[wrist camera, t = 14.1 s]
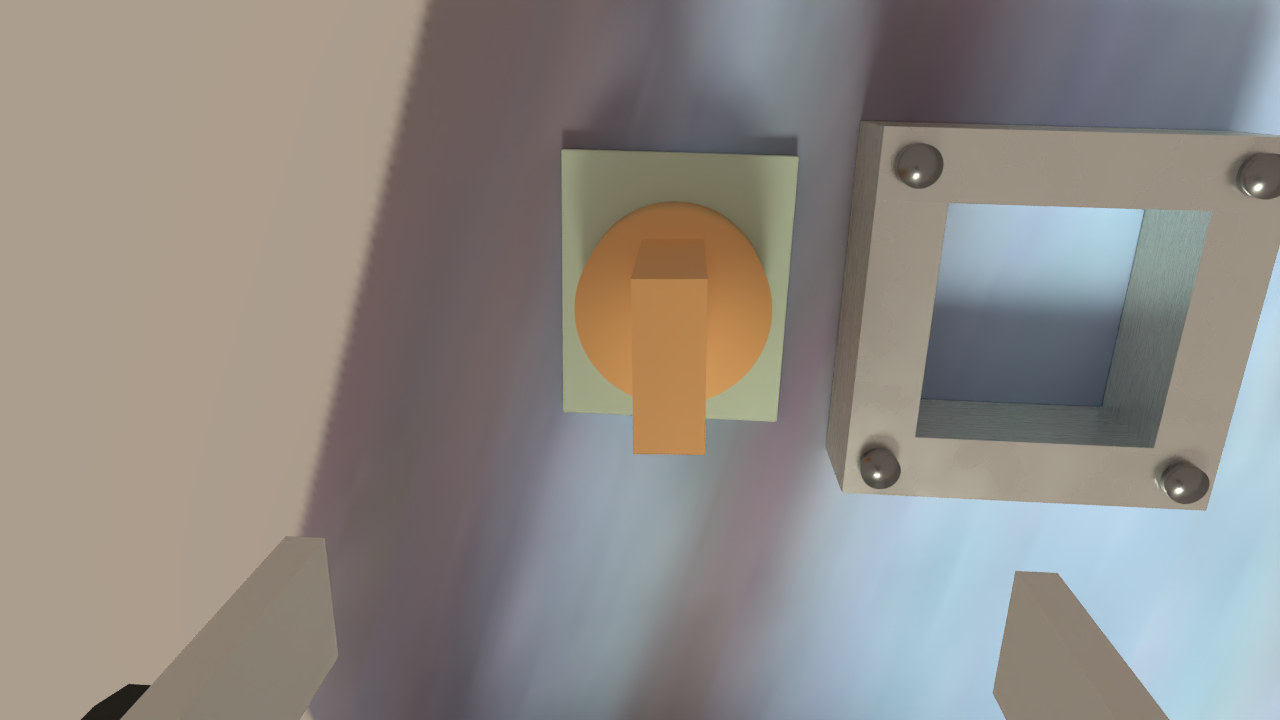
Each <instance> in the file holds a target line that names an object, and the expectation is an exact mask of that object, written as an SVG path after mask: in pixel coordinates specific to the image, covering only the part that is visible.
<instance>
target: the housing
mask: <svg viewBox="0 0 1280 720" xmlns="http://www.w3.org/2000/svg"><path fill="white" fill-rule="evenodd" d="M948 203H969V204H1000V205H1031V206H1062V207H1094V208H1125V209H1145V213H1144V218H1143V222H1142V227H1141V231H1140V236H1139V240H1138V245H1137V250H1136V254H1135V259H1134V263H1133V268H1132V272H1131V277H1130V281H1129V286H1128V290H1127V295H1126V299H1125V304H1124V309H1123V313H1122V318H1121V322H1120V327H1119V331H1118V336H1117V340H1116V345H1115V349H1114V354H1113V358H1112V363H1111V367H1110V372H1109V377H1108V381H1107V386H1106V390H1105V395H1104V399H1103V404H1102V407H1090V406H1067V405H1044V404H1021V403H998V402H975V401H952V400H929V399H920V398H921V391H922V384H923V377H924V370H925V363H926V356H927V350H928V343H929V336H930V329H931V322H932V315H933V308H934V301H935V294H936V287H937V280H938V273H939V266H940V259H941V252H942V245H943V238H944V231H945V224H946V217H947V210H948ZM1279 245H1280V135H1271V134H1260V133H1249V132H1237V131H1215V130H1179V129H1142V128H1106V127H1069V126H1033V125H997V124H960V123H924V122H887V121H860V129H859V139H858V148H857V158H856V167H855V176H854V186H853V195H852V205H851V214H850V224H849V233H848V242H847V252H846V261H845V271H844V280H843V290H842V299H841V309H840V318H839V327H838V337H837V346H836V356H835V365H834V375H833V384H832V393H831V403H830V412H829V422H828V431H827V441H826V450H827V453H828V456H829V458H830V461H831V464H832V467H833V469H834V472H835V475H836V477H837V480H838V483H839V486H840V488H841V491H842V493H860V494H880V495H900V496H921V497H941V498H962V499H982V500H1002V501H1023V502H1043V503H1063V504H1084V505H1104V506H1124V507H1145V508H1165V509H1185V510H1206V509H1207V506H1208V502H1209V498H1210V495H1211V491H1212V488H1213V484H1214V480H1215V477H1216V473H1217V469H1218V466H1219V462H1220V459H1221V455H1222V451H1223V448H1224V444H1225V441H1226V437H1227V433H1228V430H1229V426H1230V422H1231V419H1232V415H1233V412H1234V408H1235V404H1236V401H1237V397H1238V393H1239V390H1240V386H1241V383H1242V379H1243V375H1244V372H1245V368H1246V365H1247V361H1248V357H1249V354H1250V350H1251V346H1252V343H1253V339H1254V336H1255V332H1256V328H1257V325H1258V321H1259V318H1260V314H1261V310H1262V307H1263V303H1264V299H1265V296H1266V292H1267V289H1268V285H1269V281H1270V278H1271V274H1272V270H1273V267H1274V263H1275V260H1276V256H1277V252H1278V249H1279Z"/></svg>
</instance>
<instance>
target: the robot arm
mask: <svg viewBox="0 0 1280 720" xmlns="http://www.w3.org/2000/svg"><path fill="white" fill-rule="evenodd" d="M337 658H338V650H337V641H336V632H335V624H334V615H333V606H332V597H331V589H330V580H329V571H328V562H327V553H326V545H325V538H312V537H291V536H286V537H285V538H284V539H283V540H282V541H281V542H280V544H279V545H278V546H277V547H276V548H275V549H274V550H273V551H272V552H271V554H270V555H269V556H268V557H267V558H266V559H265V560H264V561H263V562H262V563H261V565H260V566H259V567H258V568H257V569H256V570H255V571H254V572H253V573H252V575H251V576H250V577H249V578H248V579H247V580H246V581H245V582H244V583H243V584H242V586H241V587H240V588H239V589H238V590H237V591H236V592H235V593H234V594H233V596H232V597H231V598H230V599H229V600H228V601H227V602H226V603H225V604H224V605H223V607H222V608H221V609H220V610H219V611H218V612H217V613H216V614H215V615H214V617H213V618H212V619H211V620H210V621H209V622H208V623H207V624H206V625H205V627H204V628H203V629H202V630H201V631H200V632H199V633H198V634H197V635H196V636H195V637H194V639H193V640H192V641H191V642H190V643H189V644H188V645H187V646H186V647H185V649H184V650H183V651H182V652H181V653H180V654H179V655H178V656H177V657H176V658H175V660H174V661H173V662H172V663H171V664H170V665H169V666H168V667H167V668H166V669H165V671H164V672H163V673H162V674H161V675H160V676H159V677H158V678H157V680H156V681H155V682H154V683H153V684H152V685H135V684H128V685H127V686H125V687H123V688H122V689H120V690H119V691H117V692H116V693H114V694H112V695H111V696H109V697H108V698H106V699H105V700H103V701H102V702H100V703H98V704H97V705H95V706H94V707H93V708H92V709H91V710H90V711H89V712H88V713H87V714H86V715H85V716H84V717H83V718H82V719H81V720H300V718H301V716H302V715H303V713H304V712H305V710H306V708H307V707H308V705H309V704H310V702H311V700H312V699H313V697H314V695H315V694H316V692H317V691H318V689H319V687H320V686H321V684H322V683H323V681H324V679H325V678H326V676H327V675H328V673H329V671H330V670H331V668H332V666H333V665H334V663H335V662H336V660H337ZM993 695H994V697H995V699H996V701H997V702H998V704H999V706H1000V708H1001V710H1002V712H1003V714H1004V716H1005V718H1006V720H1169V719H1168V717H1167V716H1166V715H1165V713H1164V712H1163V711H1162V709H1161V708H1160V707H1159V705H1158V704H1157V703H1156V702H1155V700H1154V699H1153V698H1152V696H1151V695H1150V694H1149V692H1148V691H1147V690H1146V688H1145V687H1144V686H1143V684H1142V683H1141V682H1140V681H1139V679H1138V678H1137V677H1136V675H1135V674H1134V673H1133V671H1132V670H1131V669H1130V667H1129V666H1128V665H1127V663H1126V662H1125V661H1124V660H1123V658H1122V657H1121V656H1120V654H1119V653H1118V652H1117V650H1116V649H1115V648H1114V646H1113V645H1112V644H1111V643H1110V641H1109V640H1108V639H1107V637H1106V636H1105V635H1104V633H1103V632H1102V631H1101V629H1100V628H1099V627H1098V625H1097V624H1096V623H1095V622H1094V620H1093V619H1092V618H1091V616H1090V615H1089V614H1088V612H1087V611H1086V610H1085V608H1084V607H1083V606H1082V604H1081V603H1080V602H1079V601H1078V599H1077V598H1076V597H1075V595H1074V594H1073V593H1072V591H1071V590H1070V589H1069V587H1068V586H1067V585H1066V584H1065V582H1064V581H1063V580H1062V578H1061V577H1060V576H1059V574H1058V573H1044V572H1023V571H1015V576H1014V582H1013V587H1012V593H1011V598H1010V603H1009V609H1008V614H1007V619H1006V625H1005V630H1004V635H1003V641H1002V646H1001V651H1000V657H999V662H998V668H997V673H996V678H995V684H994V689H993Z"/></svg>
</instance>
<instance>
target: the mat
mask: <svg viewBox="0 0 1280 720" xmlns="http://www.w3.org/2000/svg"><path fill="white" fill-rule="evenodd" d="M798 161H799V157H798V156H786V155H753V154H719V153H685V152H651V151H617V150H584V149H562V305H563V412H576V413H598V414H620V415H633V396H631V395H629V394H627V393H625V392H623V391H622V390H620V389H618V388H617V387H615V386H614V385H613V384H611V383H610V382H609V381H608V380H606V379H605V378H604V377H603V376H602V375H601V374H600V373H599V371H598V370H597V369H596V368H595V367H594V365H593V364H592V363H591V361H590V360H589V358H588V356H587V355H586V353H585V351H584V349H583V347H582V344H581V342H580V339H579V336H578V332H577V328H576V323H575V313H574V310H575V296H576V290H577V286H578V282H579V279H580V276H581V274H582V272H583V269H584V267H585V265H586V263H587V261H588V260H589V258H590V256H591V254H592V253H593V251H594V249H595V247H596V246H597V244H598V243H599V241H600V239H601V238H602V237H603V236H604V234H605V233H606V232H607V231H608V230H609V229H610V228H611V227H612V226H613V225H614V224H615V223H616V222H617V221H619V220H620V219H621V218H623V217H624V216H626V215H627V214H629V213H631V212H633V211H635V210H637V209H639V208H642V207H645V206H648V205H651V204H656V203H661V202H672V201H676V202H688V203H693V204H698V205H701V206H704V207H707V208H710V209H712V210H714V211H716V212H718V213H720V214H722V215H723V216H725V217H726V218H728V219H729V220H731V221H732V222H733V223H734V224H735V225H736V226H737V227H739V228H740V229H741V231H742V232H743V233H744V234H745V235H746V236H747V238H748V239H749V241H750V242H751V244H752V245H753V247H754V249H755V251H756V253H757V255H758V257H759V260H760V262H761V265H762V267H763V269H764V272H765V274H766V277H767V280H768V283H769V287H770V291H771V297H772V321H771V328H770V332H769V336H768V339H767V342H766V344H765V347H764V349H763V351H762V353H761V355H760V356H759V358H758V360H757V361H756V363H755V364H754V365H753V367H752V368H751V369H750V371H749V372H748V373H747V374H746V375H745V376H744V377H743V378H742V379H741V380H740V381H738V382H737V383H736V384H734V385H733V386H732V387H730V388H729V389H727V390H726V391H724V392H722V393H721V394H718V395H716V396H714V397H712V398H709V399H706V418H708V419H731V420H753V421H775V422H777V411H778V399H779V387H780V375H781V364H782V352H783V340H784V328H785V316H786V304H787V292H788V280H789V268H790V256H791V245H792V233H793V221H794V209H795V197H796V185H797V173H798Z"/></svg>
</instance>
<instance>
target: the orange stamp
mask: <svg viewBox="0 0 1280 720" xmlns="http://www.w3.org/2000/svg"><path fill="white" fill-rule="evenodd" d="M574 313H575V323H576V328H577V332H578V336H579V339H580V342H581V344H582V347H583V349H584V351H585V353H586V355H587V356H588V358H589V360H590V361H591V363H592V364H593V365H594V367H595V368H596V369H597V370H598V371H599V373H600V374H601V375H602V376H603V377H604V378H605V379H606V380H608V381H609V382H610V383H611V384H613V385H614V386H615V387H617V388H618V389H620V390H622V391H623V392H625V393H627V394H629V395H631V396H633V454H683V455H705V425H706V399H709V398H712V397H714V396H716V395H718V394H721V393H722V392H724V391H726V390H727V389H729V388H730V387H732V386H733V385H734V384H736V383H737V382H738V381H740V380H741V379H742V378H743V377H744V376H745V375H746V374H747V373H748V372H749V371H750V369H751V368H752V367H753V365H754V364H755V363H756V361H757V360H758V358H759V356H760V355H761V353H762V351H763V349H764V347H765V344H766V342H767V339H768V336H769V332H770V328H771V321H772V297H771V291H770V287H769V283H768V280H767V277H766V274H765V272H764V269H763V267H762V265H761V262H760V260H759V257H758V255H757V253H756V251H755V249H754V247H753V245H752V244H751V242H750V241H749V239H748V238H747V236H746V235H745V234H744V233H743V232H742V231H741V229H740V228H739V227H737V226H736V225H735V224H734V223H733V222H732V221H731V220H729V219H728V218H726V217H725V216H723V215H722V214H720V213H718V212H716V211H714V210H712V209H710V208H707V207H704V206H701V205H698V204H693V203H688V202H676V201H672V202H661V203H656V204H651V205H648V206H645V207H642V208H639V209H637V210H635V211H633V212H631V213H629V214H627V215H626V216H624V217H623V218H621V219H620V220H619V221H617V222H616V223H615V224H614V225H613V226H612V227H611V228H610V229H609V230H608V231H607V232H606V233H605V234H604V236H603V237H602V238H601V239H600V241H599V243H598V244H597V246H596V247H595V249H594V251H593V253H592V254H591V256H590V258H589V260H588V261H587V263H586V265H585V267H584V269H583V272H582V274H581V276H580V279H579V282H578V286H577V290H576V296H575V310H574Z"/></svg>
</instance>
